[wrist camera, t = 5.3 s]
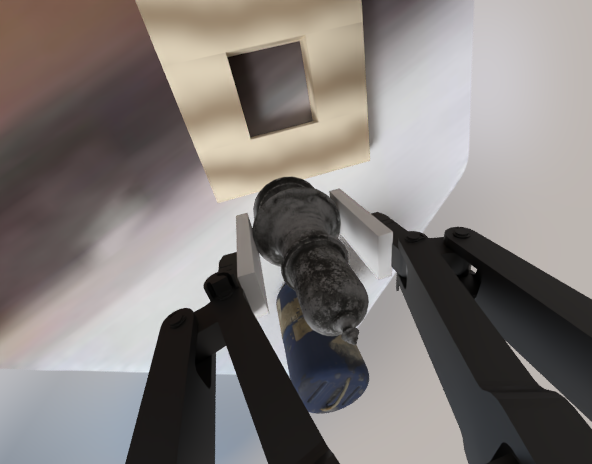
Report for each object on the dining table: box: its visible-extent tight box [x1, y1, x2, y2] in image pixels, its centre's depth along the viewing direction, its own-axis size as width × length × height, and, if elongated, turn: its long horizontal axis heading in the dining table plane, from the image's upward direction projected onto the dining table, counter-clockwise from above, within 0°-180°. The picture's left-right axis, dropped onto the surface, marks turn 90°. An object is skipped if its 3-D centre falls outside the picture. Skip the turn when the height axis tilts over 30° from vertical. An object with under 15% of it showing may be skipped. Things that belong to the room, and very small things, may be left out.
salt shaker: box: [252, 177, 369, 345], centre depth 13 cm, size 6×6×12 cm
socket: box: [135, 0, 370, 203], centre depth 26 cm, size 20×20×2 cm
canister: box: [276, 284, 369, 413], centre depth 34 cm, size 10×10×18 cm
